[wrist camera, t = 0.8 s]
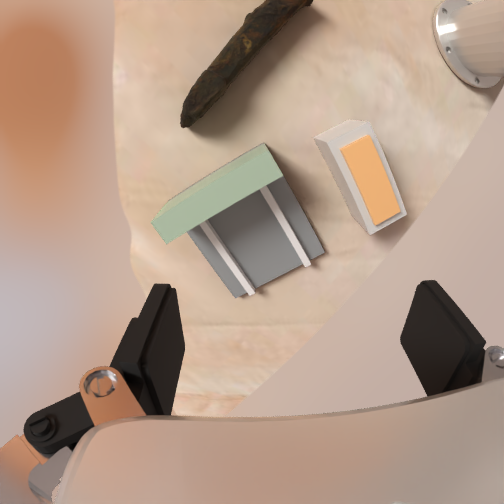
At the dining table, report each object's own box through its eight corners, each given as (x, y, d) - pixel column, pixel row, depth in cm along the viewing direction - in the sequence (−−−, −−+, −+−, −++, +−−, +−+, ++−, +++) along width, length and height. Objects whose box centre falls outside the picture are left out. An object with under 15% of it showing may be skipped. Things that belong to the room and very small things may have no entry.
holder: (348, 119, 29) (371, 121, 23) (383, 197, 33) (409, 216, 27) (312, 137, 30) (328, 143, 24) (351, 215, 34) (372, 237, 28)
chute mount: (263, 142, 30) (268, 149, 24) (323, 248, 35) (338, 279, 29) (168, 200, 33) (150, 222, 26) (235, 293, 38) (233, 330, 32)
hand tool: (280, -15, 22) (285, -32, 18) (310, 6, 24) (319, -8, 19) (165, 111, 29) (153, 111, 24) (195, 132, 30) (187, 136, 26)
